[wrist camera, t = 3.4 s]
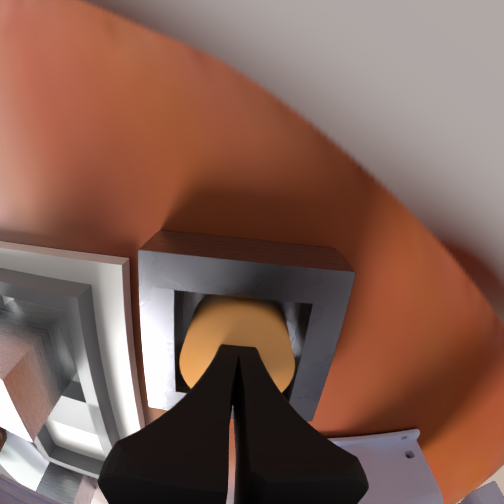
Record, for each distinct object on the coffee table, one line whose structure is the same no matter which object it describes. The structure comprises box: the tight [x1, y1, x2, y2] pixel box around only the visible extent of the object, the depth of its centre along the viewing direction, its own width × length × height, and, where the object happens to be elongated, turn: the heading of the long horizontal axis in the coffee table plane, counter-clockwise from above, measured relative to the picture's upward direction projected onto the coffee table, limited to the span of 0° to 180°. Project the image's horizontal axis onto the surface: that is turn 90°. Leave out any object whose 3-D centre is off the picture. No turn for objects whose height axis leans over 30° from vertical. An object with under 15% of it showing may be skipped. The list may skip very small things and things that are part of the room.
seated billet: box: [0, 299, 78, 442], centre depth 12 cm, size 4×4×6 cm
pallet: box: [0, 241, 145, 479], centre depth 16 cm, size 11×19×2 cm, turn 174°
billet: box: [36, 462, 95, 504], centre depth 18 cm, size 4×4×6 cm
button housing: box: [138, 230, 356, 421], centre depth 14 cm, size 8×8×3 cm
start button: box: [179, 294, 295, 408], centre depth 13 cm, size 4×4×3 cm
